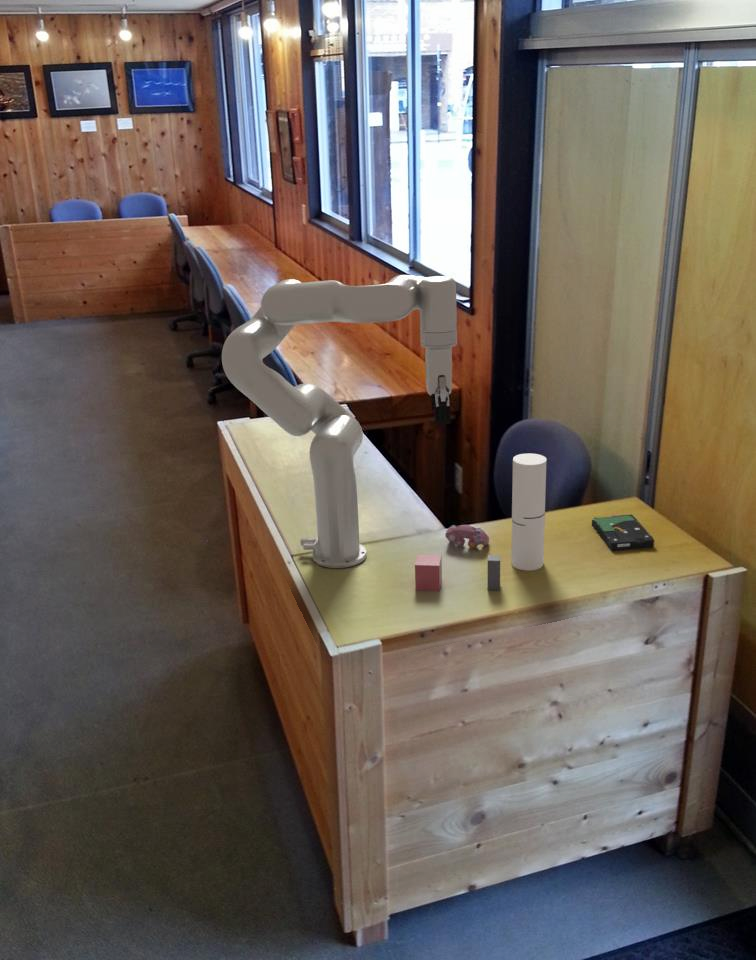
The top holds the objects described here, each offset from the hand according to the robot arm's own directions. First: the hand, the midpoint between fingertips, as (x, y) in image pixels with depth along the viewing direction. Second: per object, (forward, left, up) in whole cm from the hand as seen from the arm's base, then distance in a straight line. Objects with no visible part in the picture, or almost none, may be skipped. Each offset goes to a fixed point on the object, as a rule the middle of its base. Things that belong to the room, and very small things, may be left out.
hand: (440, 416), depth 198 cm
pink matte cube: (-2, -11, -35) cm, 36 cm away
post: (+12, -11, -35) cm, 38 cm away
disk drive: (+41, +17, -35) cm, 57 cm away
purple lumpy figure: (+5, +9, -35) cm, 37 cm away
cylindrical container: (+19, +1, -35) cm, 40 cm away
